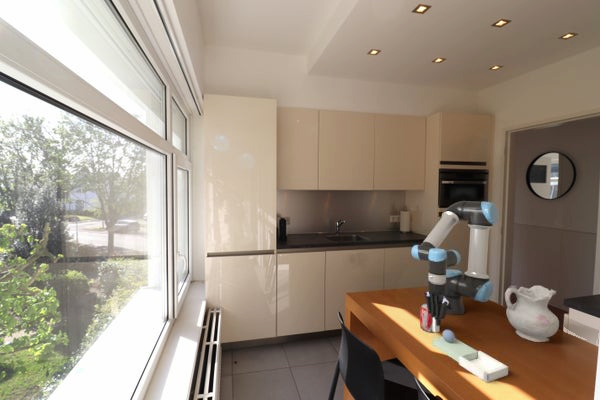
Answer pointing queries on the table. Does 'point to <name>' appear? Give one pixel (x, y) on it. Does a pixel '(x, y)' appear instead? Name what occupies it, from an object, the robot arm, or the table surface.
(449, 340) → the ball
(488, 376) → the tray
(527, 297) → the ceramic pitcher
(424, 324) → the soda can
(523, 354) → the table surface
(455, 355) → the board
